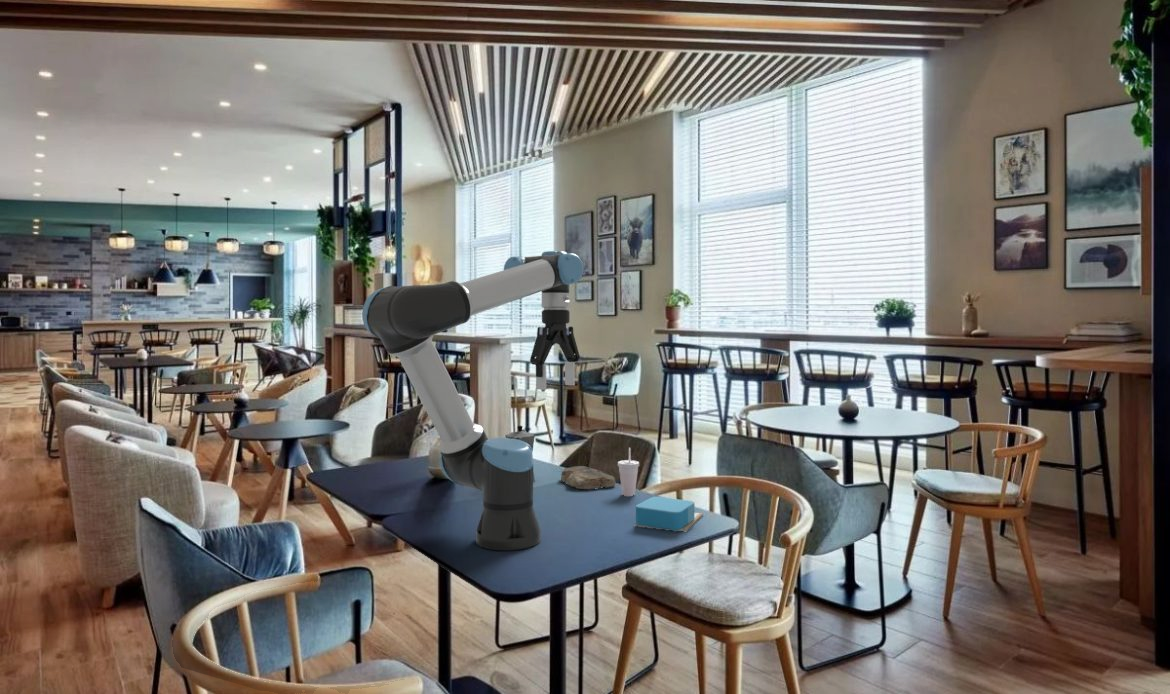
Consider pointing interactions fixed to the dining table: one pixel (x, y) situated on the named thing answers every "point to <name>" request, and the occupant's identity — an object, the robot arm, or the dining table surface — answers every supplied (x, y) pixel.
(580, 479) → the flat brown rock
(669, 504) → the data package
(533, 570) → the dining table surface
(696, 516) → the mat
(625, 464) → the smoothie
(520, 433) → the coffeepot
